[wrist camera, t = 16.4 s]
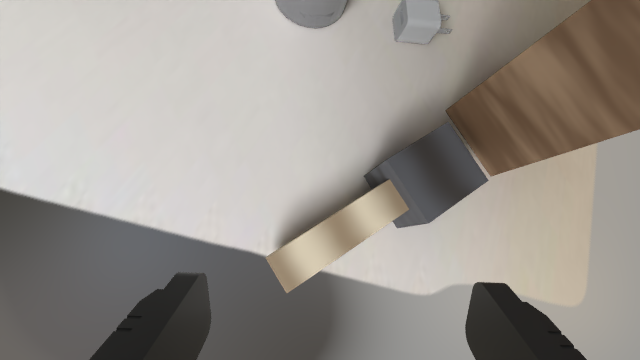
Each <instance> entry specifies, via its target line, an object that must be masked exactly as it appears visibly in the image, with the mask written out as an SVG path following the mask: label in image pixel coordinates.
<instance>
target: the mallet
mask: <svg viewBox="0 0 640 360" xmlns="http://www.w3.org/2000/svg"><path fill="white" fill-rule="evenodd" d="M364 177H365V179H366V180H367V182H368V184H369V185H370V187H371V188H372V190H370V191H369V192H367V193H366V194H364V195H363V196H361V197H359V198H358V199H356V200H355V201H353V202H352V203H350V204H348V205H347V206H345V207H344V208H342V209H341V210H339V211H337V212H336V213H334V214H333V215H331V216H330V217H328V218H326V219H325V220H323V221H322V222H320V223H319V224H317V225H315V226H314V227H312V228H311V229H309V230H308V231H306V232H304V233H303V234H301V235H300V236H298V237H297V238H295V239H293V240H292V241H290V242H289V243H287V244H286V245H284V246H282V247H281V248H279V249H278V250H276V251H275V252H273V253H271V254H270V255H268V256H267V257H266V259H267V261H268V263H269V264H270V266H271V268H272V270H273V271H274V273H275V275H276V276H277V278H278V280H279V281H280V283H281V285H282V286H283V288H284V290H285V291H286V293H288V292H290V291H291V290H292V289H294V288H295V287H297V286H298V285H300V284H301V283H303V282H304V281H306V280H307V279H309V278H310V277H312V276H313V275H314V274H316V273H317V272H319V271H320V270H322V269H323V268H325V267H326V266H328V265H329V264H331V263H332V262H333V261H335V260H336V259H338V258H339V257H341V256H342V255H344V254H345V253H347V252H348V251H349V250H351V249H352V248H354V247H355V246H357V245H358V244H360V243H361V242H363V241H364V240H366V239H367V238H368V237H370V236H371V235H373V234H374V233H376V232H377V231H379V230H380V229H382V228H383V227H385V226H386V225H387V224H389V223H390V222H392V221H393V222H394V224H395V226H396V227H397V228H401V227H408V226H414V225H421V224H427V223H430V222H431V221H433V220H434V219H435V218H437V217H438V216H440V215H441V214H442V213H444V212H445V211H447V210H448V209H449V208H451V207H452V206H454V205H455V204H456V203H458V202H459V201H460V200H462V199H463V198H465V197H466V196H467V195H469V194H470V193H472V192H473V191H474V190H476V189H477V188H479V187H480V186H481V185H483V184H484V183H486V182H487V181H488V179H487V178H486V176H485V175H484V173H483V172H482V170H481V169H480V167H479V166H478V164H477V163H476V161H475V160H474V159H473V157H472V156H471V154H470V153H469V151H468V150H467V148H466V147H465V145H464V144H463V143H462V141H461V140H460V138H459V137H458V135H457V134H456V132H455V131H454V129H453V128H452V126H451V125H450V124H449V122H447V123H446V124H444V125H442V126H441V127H439V128H437V129H436V130H434V131H433V132H431V133H429V134H428V135H426V136H424V137H423V138H421V139H420V140H418V141H416V142H415V143H413V144H411V145H410V146H408V147H406V148H405V149H403V150H402V151H400V152H398V153H397V154H395V155H393V156H392V157H390V158H389V159H387V160H386V161H384V162H383V163H381V164H380V165H379V166H377V167H376V168H374V169H373V170H372V171H370V172H369V173H368V174H366V175H365V176H364Z"/></svg>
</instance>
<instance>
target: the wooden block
mask: <svg viewBox="0 0 640 360" xmlns="http://www.w3.org/2000/svg"><path fill="white" fill-rule="evenodd" d="M446 112H447V114H448V115H449V117H450V118H451V120H452V121H453V122H454V124H455V125H456V127H457V128H458V130H459V131H460V133H461V134H462V135H463V137H464V138H465V140H466V141H467V143H468V144H469V146H470V147H471V148H472V150H473V151H474V153H475V154H476V156H477V157H478V159H479V160H480V161H481V163H482V164H483V166H484V167H485V169H486V170H487V172H488V173H489V174H490V176H494V175H497V174H500V173H503V172H506V171H509V170H512V169H516V168H519V167H522V166H525V165H528V164H531V163H535V162H538V161H541V160H544V159H547V158H550V157H553V156H557V155H560V154H563V153H566V152H569V151H572V150H576V149H579V148H582V147H585V146H588V145H591V144H594V143H598V142H601V141H604V140H607V139H610V138H613V137H616V136H620V135H623V134H626V133H629V132H632V131H635V130H638V129H640V0H591V1H590V2H588V3H587V4H586V5H584V6H583V7H582V8H580V9H579V10H578V11H576V12H575V13H574V14H572V15H571V16H570V17H569V18H567V19H566V20H565V21H563V22H562V23H561V24H559V25H558V26H557V27H555V28H554V29H553V30H551V31H550V32H549V33H547V34H546V35H545V36H543V37H542V38H541V39H539V40H538V41H537V42H535V43H534V44H533V45H532V46H530V47H529V48H528V49H526V50H525V51H524V52H522V53H521V54H520V55H518V56H517V57H516V58H514V59H513V60H512V61H510V62H509V63H508V64H506V65H505V66H504V67H502V68H501V69H500V70H499V71H497V72H496V73H495V74H493V75H492V76H491V77H489V78H488V79H487V80H485V81H484V82H483V83H481V84H480V85H479V86H477V87H476V88H475V89H473V90H472V91H471V92H469V93H468V94H467V95H465V96H464V97H463V98H462V99H460V100H459V101H458V102H456V103H455V104H454V105H452V106H451V107H450V108H448V109H447V110H446Z"/></svg>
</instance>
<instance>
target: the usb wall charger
mask: <svg viewBox="0 0 640 360" xmlns="http://www.w3.org/2000/svg"><path fill="white" fill-rule="evenodd" d="M445 17H447V18H445ZM449 17H450V16H448V15H441V14H440V8H439V2H438V1H437V0H402V1H401V3H400V4H399V6H398V8H397V10H396V12H395V13H394V16H393V29H394V39H395V41H397V42H408V43H420V44H428V42H429V41H430V40H431V39H432V38H433V36H434V35H435V34H436V33H444V34H449V33H450V32H451V31H452V30H451V29H445V28H440V26H441V20H448V18H449ZM446 31H449V32H446Z"/></svg>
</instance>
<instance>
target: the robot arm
mask: <svg viewBox="0 0 640 360" xmlns="http://www.w3.org/2000/svg"><path fill="white" fill-rule="evenodd" d="M275 1H276V4H277V6H278V8H279V9H280V11H281V12H282V13H283V14H284V15H285V16H286V17H287V18H288V19H290V20H291V21H292V22H294V23H296V24H298V25H301V26H304V27H309V28H321V27H325V26H328V25H330V24H332V23H334V22H335V21H336V20H338V19H339V18H340V16H341V15H342V13H343V11H344V8H345V5H346V2H347V0H275ZM210 324H211V310H210V301H209V293H208V283H207V277H206V275H205V274H204V273H187V272H178V273H177V274H176V275H175V276H174V277H173V278H172V279H171V281H170V282H169V283H168V284H167V286H166V287H165V288H164V289H162V290H161V289H157V290H155V291H154V292H153V293H151V294H150V295H148V296H147V297H145V298H144V299H142V300H141V301H140V302H139V303H138V304H137V305H136V306H135V307H134V309H133V310H132V311H131V312H130V313H129V314H128V315H127V319H124V320H123V321H122V322H121V324H120V325H119V326H118V327H117V330H116V331H114V332H113V333H112V334H111V335H110V336H109V338H108V339H107V340H106V341H105V342H104V343H103V344H102V346H101V347H100V348H99V349H98V350H97V351H96V353H95V354H94V355H93V356H92V357H91V358H90V360H196V359H197V357H198V355H199V353H200V351H201V349H202V347H203V345H204V342H205V341H206V338H207V336H208V333H209V330H210ZM465 328H466V338H467V342H468V345H469V347H470V350H471V351H472V353H473V355H474V357H475V359H476V360H587V359H586V358H585V357H584V356H583V355H582V354H581V353H580V352H579V351H578V350H577V349H574V345H573V344H572V343H571V342H570V341H569V340H568V339H567V338H566V337H565V336H564V335H562V334H561V331H560V330H559V329H558V328H557V327H556V326H555V325H554V323H553V322H552V321H551V320H550V319H549V318H548V317H547V316H546V315H544V314H543V313H542V312H540V311H539V310H537V309H536V308H534V307H533V306H532V305H530V304H529V303H527V302H522V301H521V300H520V299H519V298H518V297H517V295H516V294H515V293H514V292H513V291H512V290H511V289H510V287H509V286H508V285H506V284H505V283H485V282H477V283H475V284H474V286H473V290H472V295H471V300H470V305H469V310H468V315H467V320H466V327H465Z"/></svg>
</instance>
